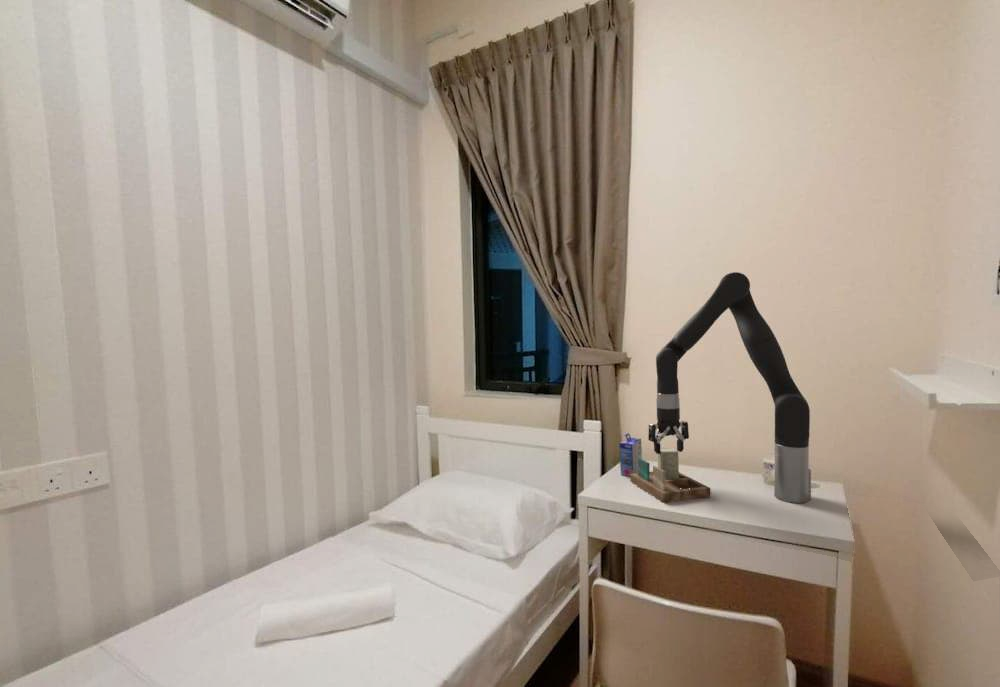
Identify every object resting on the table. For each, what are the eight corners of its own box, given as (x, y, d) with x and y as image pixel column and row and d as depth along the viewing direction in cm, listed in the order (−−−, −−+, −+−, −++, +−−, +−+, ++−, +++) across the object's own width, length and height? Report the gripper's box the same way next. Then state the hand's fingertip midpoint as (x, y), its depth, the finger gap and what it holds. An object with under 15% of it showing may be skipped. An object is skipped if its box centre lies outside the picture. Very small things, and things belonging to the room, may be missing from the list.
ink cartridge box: (628, 468, 189) (628, 431, 188) (642, 470, 186) (642, 432, 185) (619, 474, 181) (618, 436, 180) (633, 477, 178) (633, 438, 177)
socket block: (673, 477, 176) (673, 452, 176) (710, 497, 157) (710, 469, 156) (630, 482, 172) (630, 456, 172) (663, 502, 153) (663, 474, 152)
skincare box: (675, 482, 172) (675, 447, 171) (679, 486, 167) (679, 451, 167) (657, 481, 172) (657, 447, 172) (660, 486, 168) (660, 451, 167)
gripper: (655, 409, 163) (656, 457, 164) (692, 406, 166) (693, 453, 167) (643, 405, 170) (644, 451, 171) (679, 403, 174) (680, 448, 174)
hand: (669, 452), depth 169 cm, fingers open, 8 cm apart
